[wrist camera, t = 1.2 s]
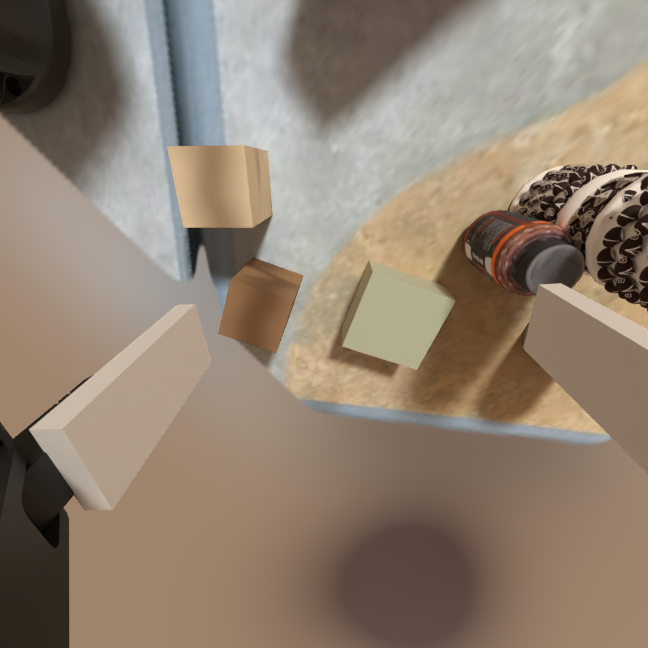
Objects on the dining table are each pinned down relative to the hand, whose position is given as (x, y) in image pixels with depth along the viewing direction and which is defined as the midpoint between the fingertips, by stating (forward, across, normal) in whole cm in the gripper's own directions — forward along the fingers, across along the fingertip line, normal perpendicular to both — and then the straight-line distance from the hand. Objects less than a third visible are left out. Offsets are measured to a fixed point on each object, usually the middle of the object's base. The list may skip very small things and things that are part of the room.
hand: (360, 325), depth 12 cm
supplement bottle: (+23, +15, -2) cm, 27 cm away
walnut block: (+23, -9, -7) cm, 26 cm away
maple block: (+24, -11, +5) cm, 26 cm away
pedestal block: (+24, +5, -10) cm, 26 cm away
